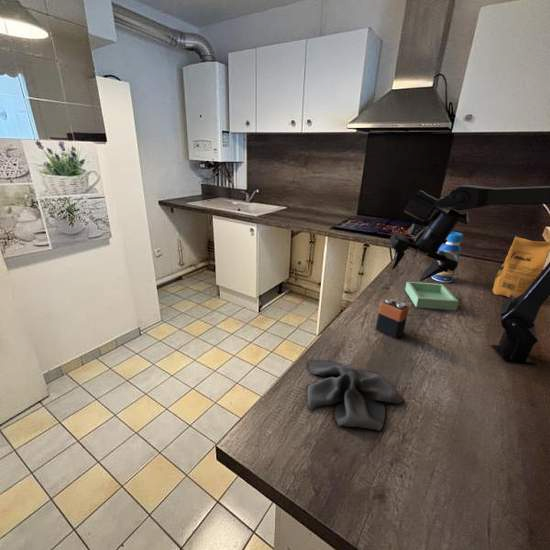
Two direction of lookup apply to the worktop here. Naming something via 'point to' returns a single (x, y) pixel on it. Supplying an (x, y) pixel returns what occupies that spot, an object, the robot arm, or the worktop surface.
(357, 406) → the cloth
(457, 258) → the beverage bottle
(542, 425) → the worktop surface
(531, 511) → the worktop surface
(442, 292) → the tray
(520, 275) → the coffee package
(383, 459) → the worktop surface
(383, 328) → the battery
